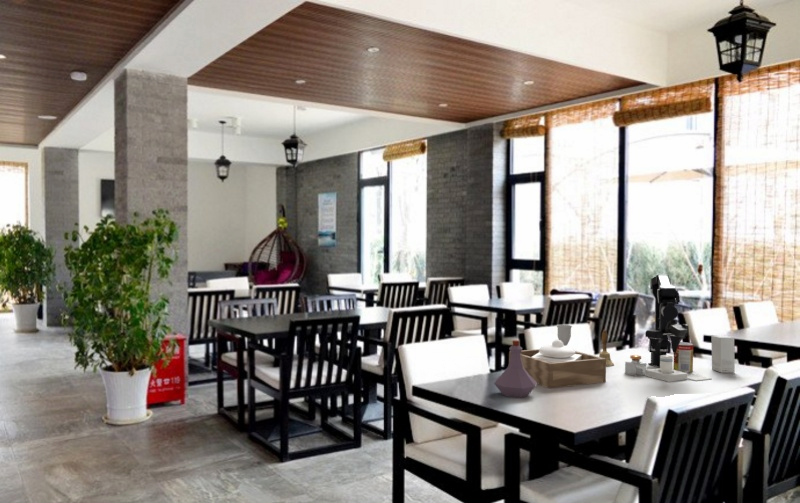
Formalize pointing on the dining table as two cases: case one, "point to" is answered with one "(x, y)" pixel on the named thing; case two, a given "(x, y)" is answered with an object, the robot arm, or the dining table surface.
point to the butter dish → (557, 353)
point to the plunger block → (635, 368)
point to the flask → (515, 376)
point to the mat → (697, 377)
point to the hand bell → (605, 350)
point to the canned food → (684, 357)
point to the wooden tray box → (564, 370)
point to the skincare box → (723, 353)
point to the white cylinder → (666, 363)
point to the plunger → (635, 358)
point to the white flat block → (666, 375)
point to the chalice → (564, 333)
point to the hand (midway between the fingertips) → (666, 353)
